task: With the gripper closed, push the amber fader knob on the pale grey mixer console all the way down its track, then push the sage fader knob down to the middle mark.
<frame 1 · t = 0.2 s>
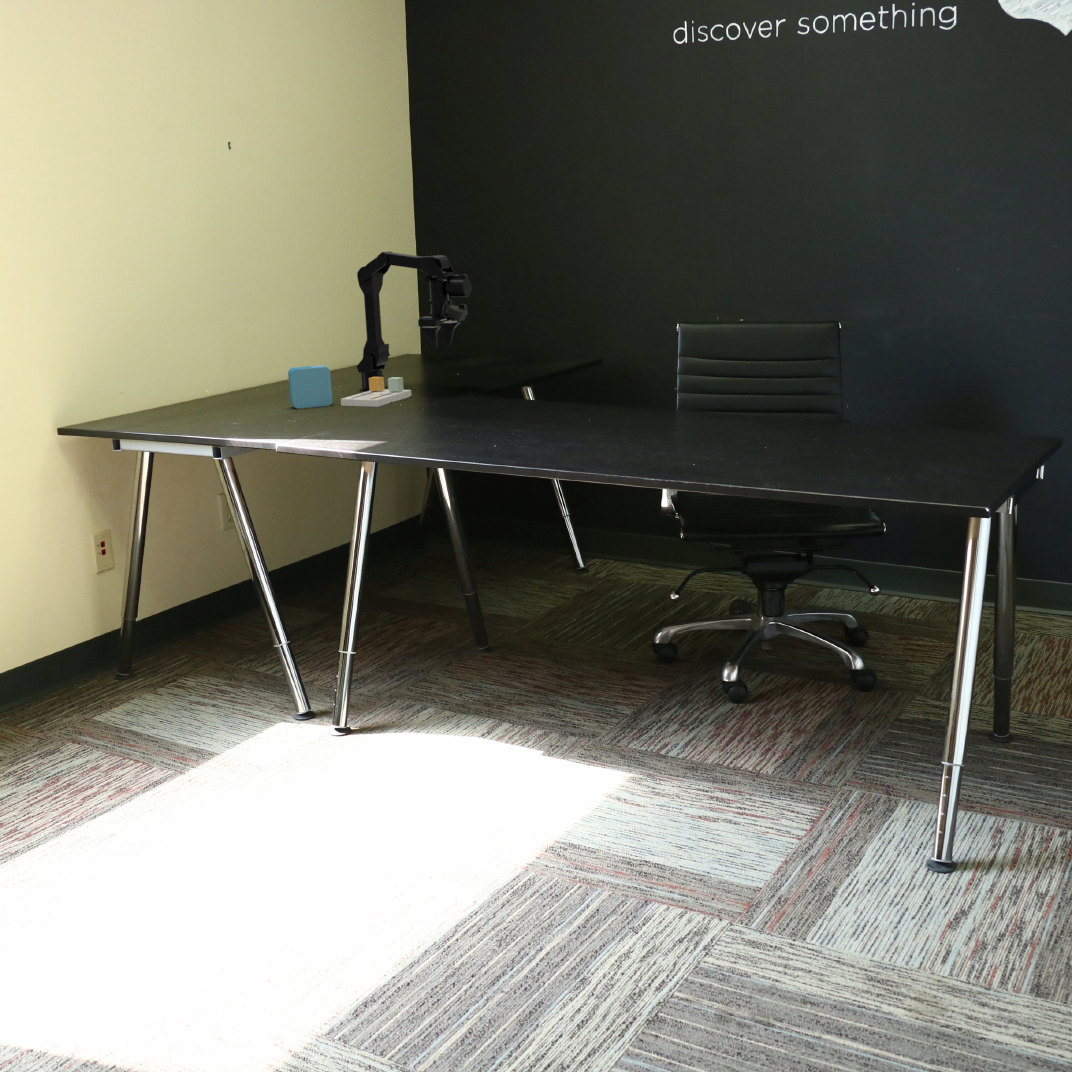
hand: (442, 347, 370), 14 cm above the table, fingers open, 9 cm apart
sage fader: (395, 384, 365), point 4 cm above the table, slide at 6.0 cm
blue rounded block: (312, 407, 357), on the table
mixer console: (376, 400, 362), on the table
amber fader: (376, 383, 368), point 4 cm above the table, slide at 6.0 cm
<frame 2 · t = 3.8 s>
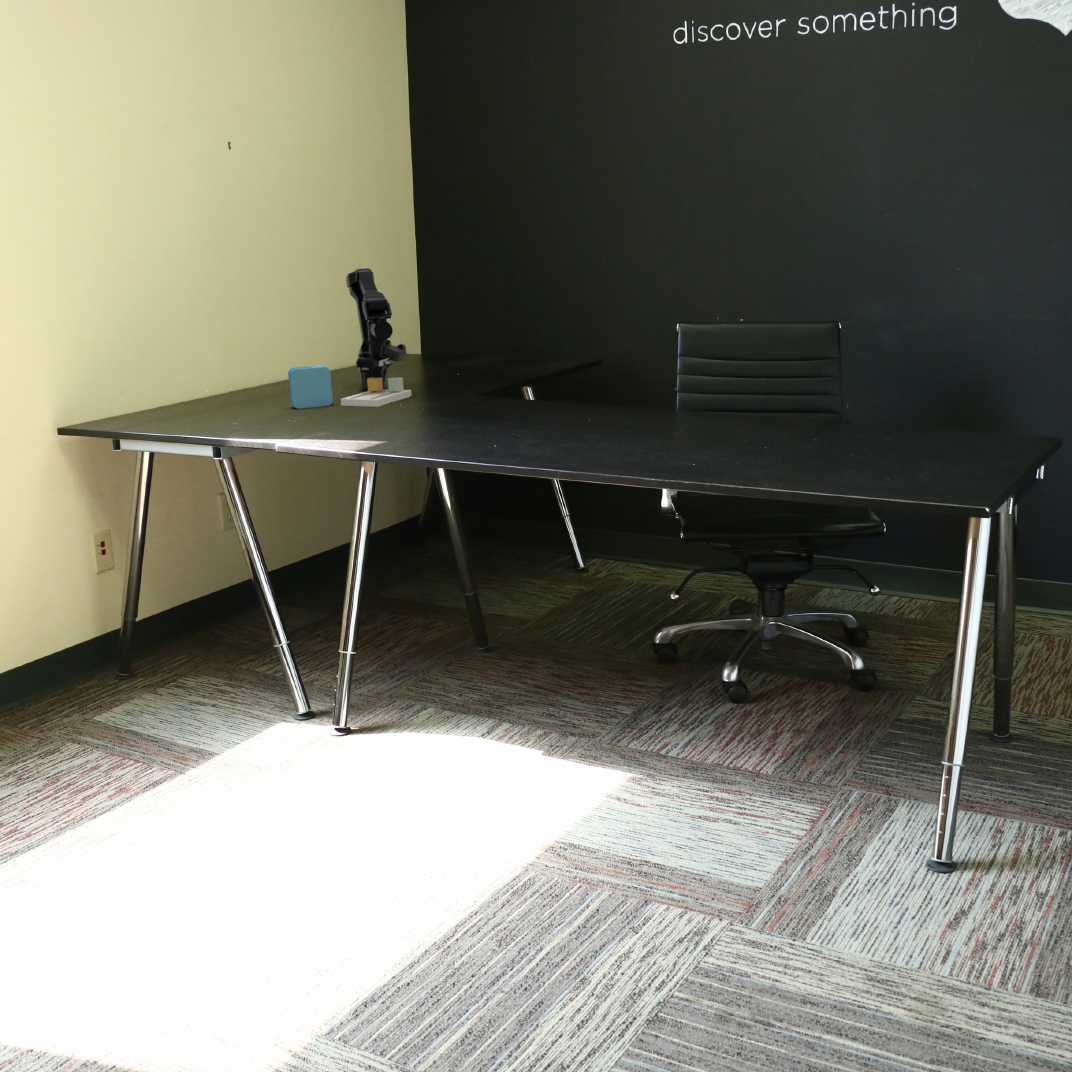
hand: (381, 387, 371), 3 cm above the table, fingers closed
amber fader: (375, 384, 367), point 4 cm above the table, slide at 5.1 cm, touching gripper
everything else where it was.
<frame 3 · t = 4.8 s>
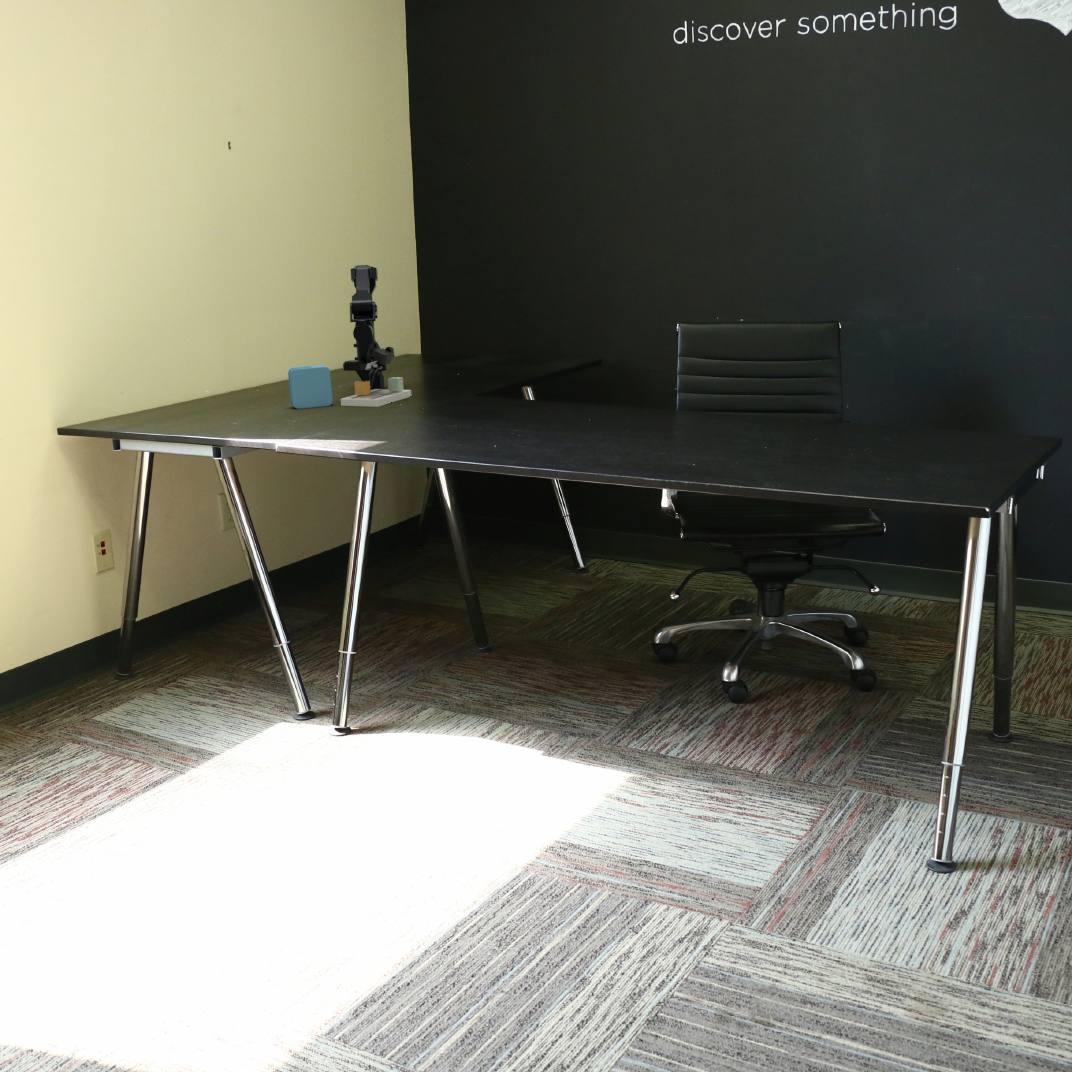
hand: (369, 390, 364), 3 cm above the table, fingers closed
amber fader: (362, 387, 361), point 4 cm above the table, slide at -2.1 cm, touching gripper
everything else where it was.
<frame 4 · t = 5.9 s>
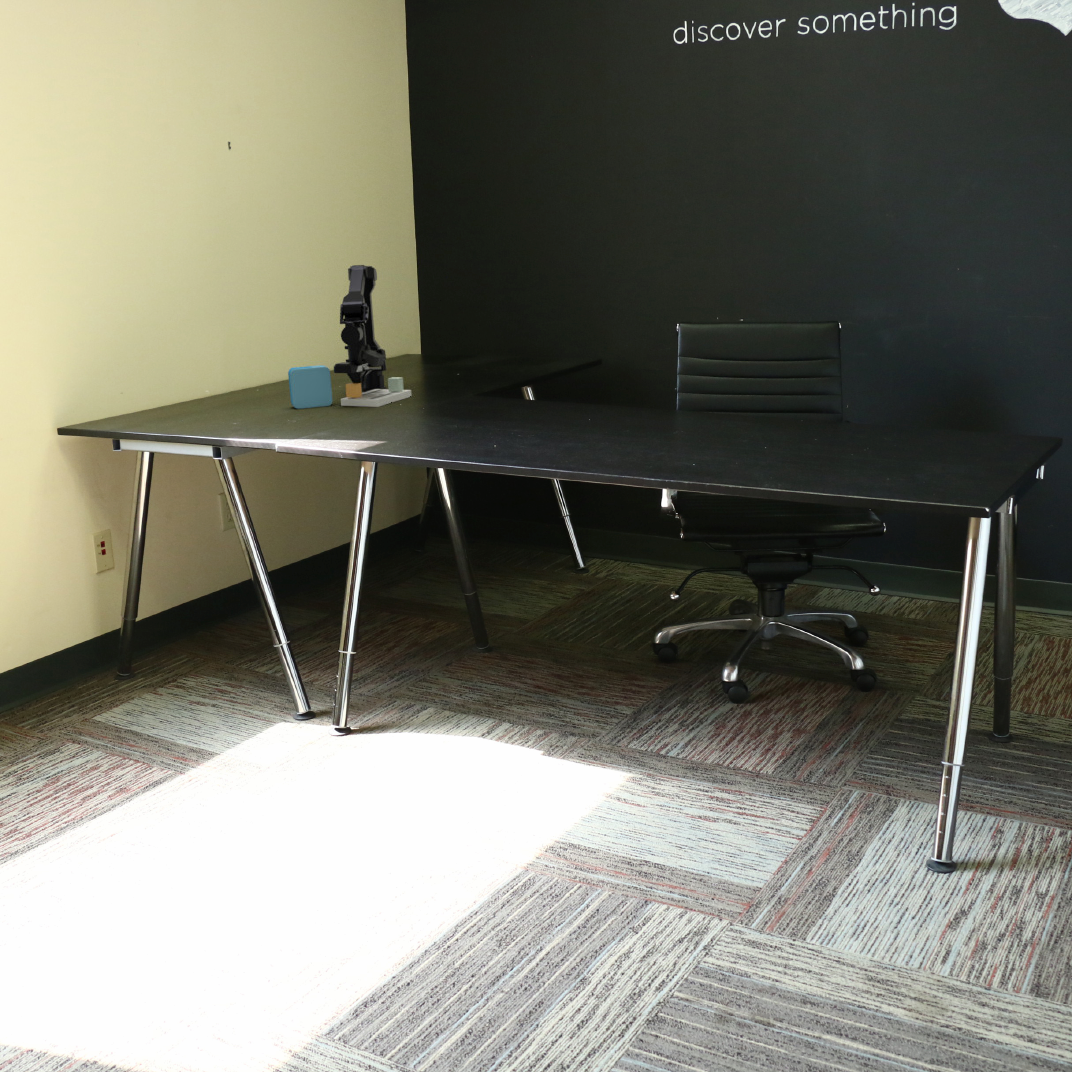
hand: (360, 392, 360), 3 cm above the table, fingers closed
amber fader: (353, 390, 357), point 4 cm above the table, slide at -7.0 cm, touching gripper
everything else where it was.
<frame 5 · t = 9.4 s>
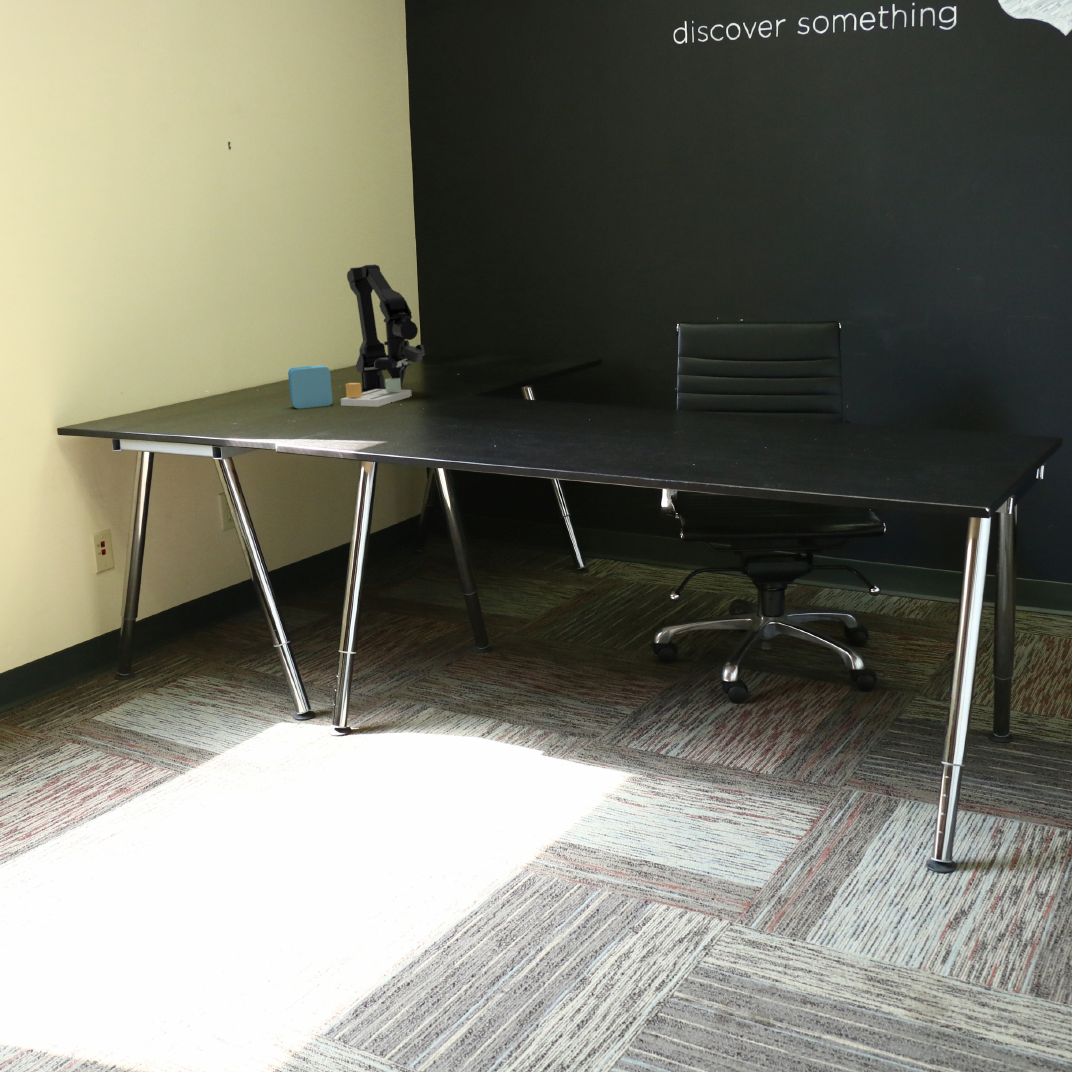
hand: (399, 387, 367), 3 cm above the table, fingers closed
sage fader: (393, 385, 364), point 4 cm above the table, slide at 4.4 cm, touching gripper
amber fader: (353, 390, 357), point 4 cm above the table, slide at -7.0 cm
everything else where it was.
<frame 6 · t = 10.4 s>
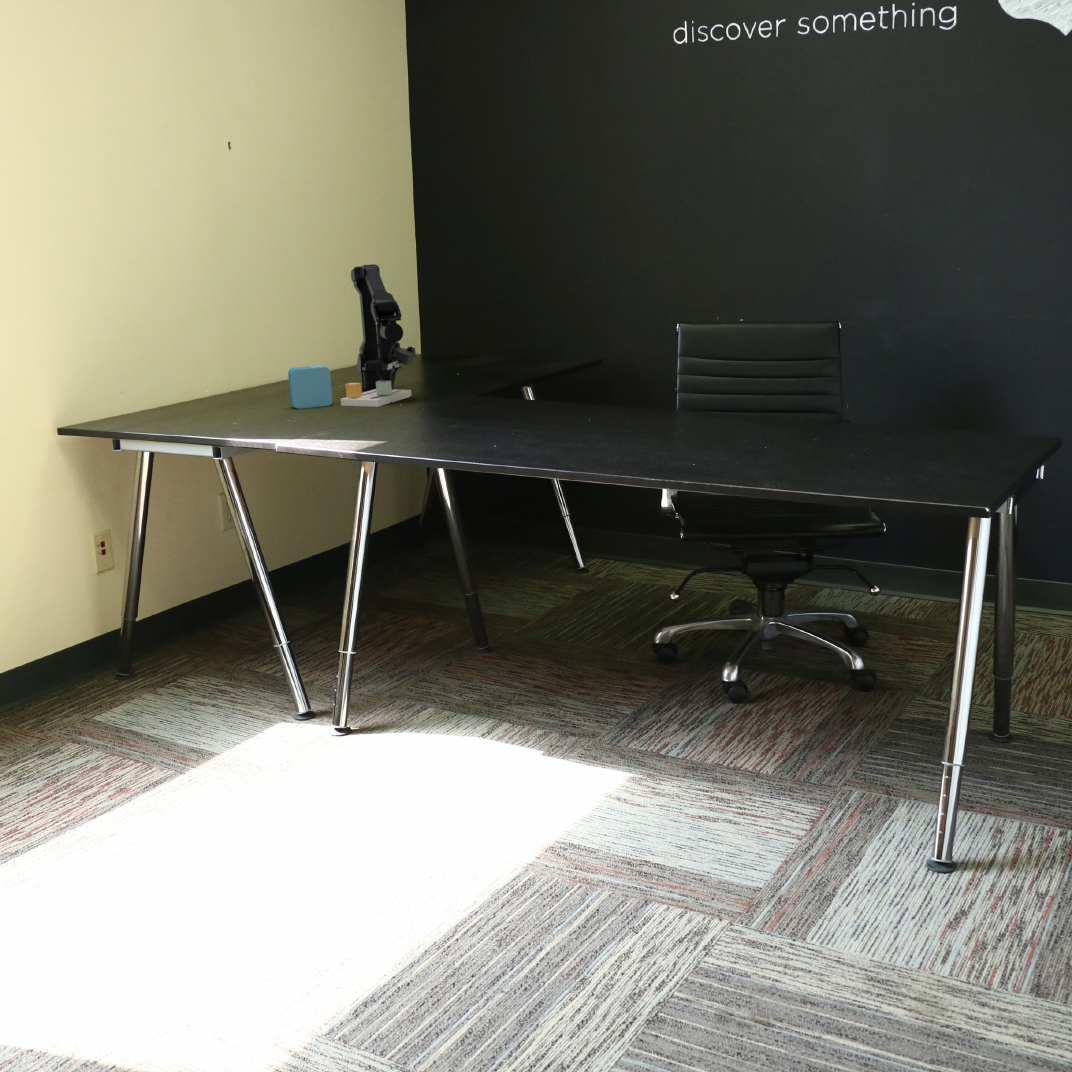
hand: (390, 390, 362), 3 cm above the table, fingers closed
sage fader: (383, 387, 359), point 4 cm above the table, slide at -1.0 cm, touching gripper
everything else where it was.
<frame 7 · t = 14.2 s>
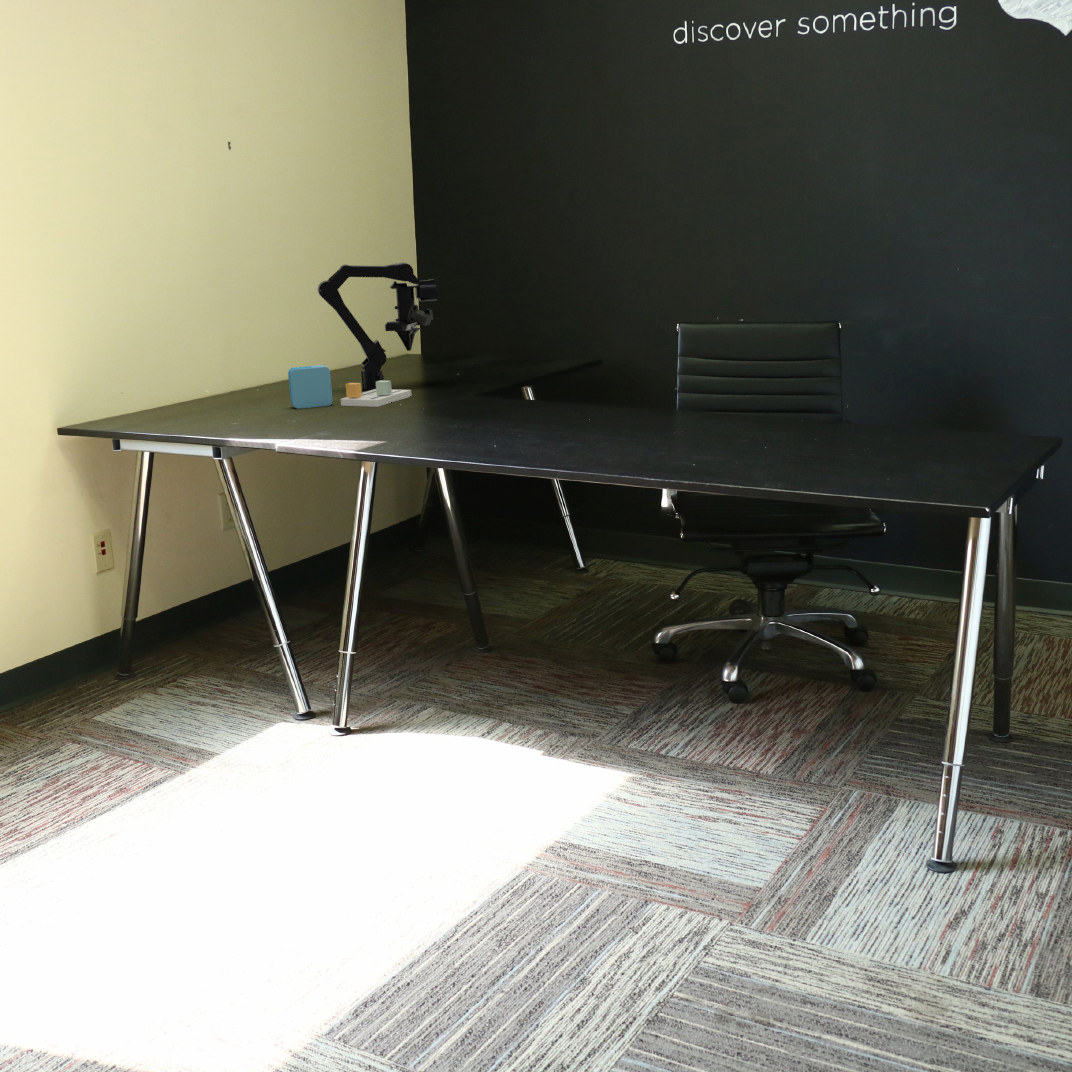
hand: (409, 350, 385), 12 cm above the table, fingers closed
sage fader: (383, 387, 359), point 4 cm above the table, slide at -1.0 cm
everything else where it was.
at the end: amber fader slide at -7.0 cm; sage fader slide at -1.0 cm; blue rounded block moved 0.3 cm from its start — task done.
